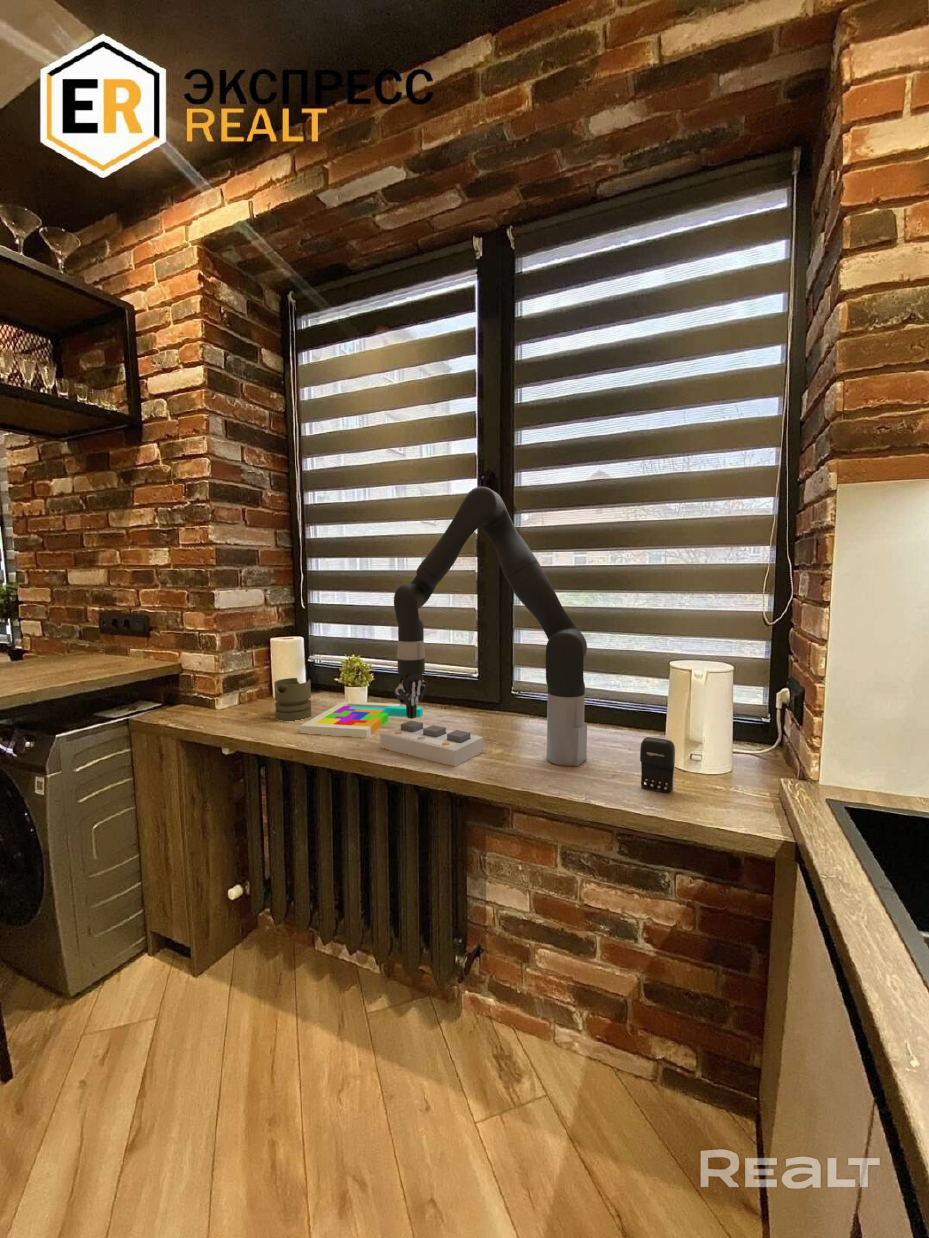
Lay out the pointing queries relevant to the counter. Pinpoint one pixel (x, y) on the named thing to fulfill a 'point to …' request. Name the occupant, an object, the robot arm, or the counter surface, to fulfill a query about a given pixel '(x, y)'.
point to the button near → (458, 736)
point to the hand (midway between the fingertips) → (411, 717)
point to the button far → (412, 726)
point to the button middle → (434, 731)
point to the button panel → (431, 746)
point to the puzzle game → (354, 719)
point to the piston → (292, 699)
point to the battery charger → (657, 764)
